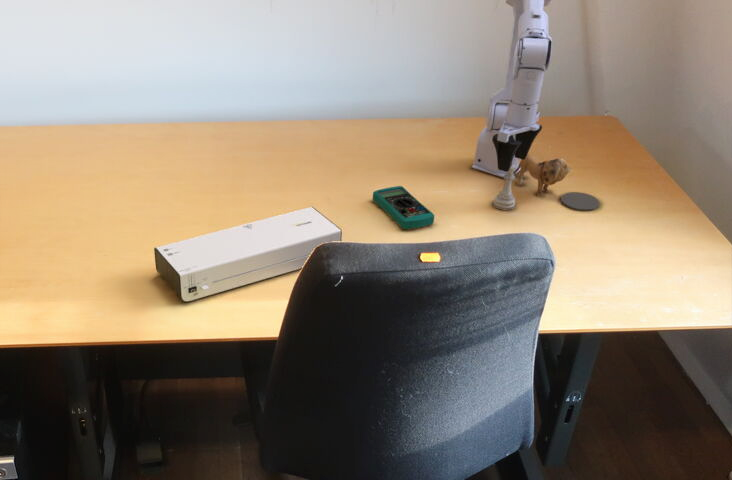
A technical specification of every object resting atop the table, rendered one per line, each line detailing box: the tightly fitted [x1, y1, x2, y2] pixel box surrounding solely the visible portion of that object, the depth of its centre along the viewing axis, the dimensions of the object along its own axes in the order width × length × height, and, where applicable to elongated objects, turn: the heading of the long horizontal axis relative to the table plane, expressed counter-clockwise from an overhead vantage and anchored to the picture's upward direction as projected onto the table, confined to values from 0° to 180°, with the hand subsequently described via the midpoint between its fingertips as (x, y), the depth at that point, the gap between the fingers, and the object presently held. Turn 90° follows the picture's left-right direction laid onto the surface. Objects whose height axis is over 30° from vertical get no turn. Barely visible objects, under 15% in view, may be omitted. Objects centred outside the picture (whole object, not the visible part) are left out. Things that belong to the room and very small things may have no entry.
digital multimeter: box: [372, 185, 435, 231], centre depth 180 cm, size 7×15×3 cm, turn 21°
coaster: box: [560, 191, 600, 212], centre depth 186 cm, size 8×8×1 cm
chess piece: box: [493, 162, 517, 211], centre depth 181 cm, size 4×4×10 cm
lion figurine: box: [513, 153, 571, 198], centre depth 189 cm, size 15×5×9 cm, turn 36°
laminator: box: [153, 206, 343, 303], centre depth 162 cm, size 34×12×6 cm, turn 119°
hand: (511, 164), depth 179 cm, fingers open, 7 cm apart
